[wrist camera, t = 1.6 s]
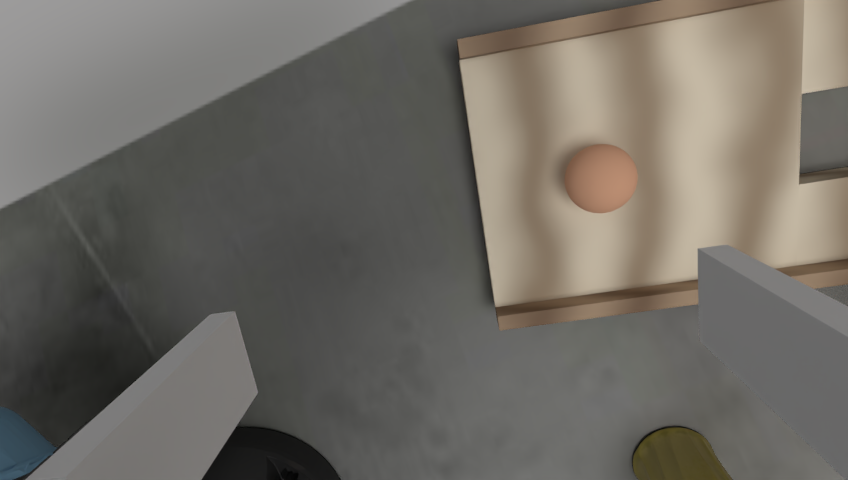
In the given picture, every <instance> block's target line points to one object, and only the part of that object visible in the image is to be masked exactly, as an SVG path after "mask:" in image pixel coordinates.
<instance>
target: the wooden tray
mask: <svg viewBox="0 0 848 480" xmlns="http://www.w3.org/2000/svg"><path fill="white" fill-rule="evenodd" d="M457 47H458V54H459V67H460V74H461V81H462V88H463V95H464V102H465V108H466V115H467V122H468V129H469V136H470V143H471V150H472V156H473V163H474V170H475V177H476V184H477V191H478V198H479V204H480V211H481V218H482V225H483V232H484V239H485V246H486V252H487V259H488V266H489V273H490V280H491V287H492V294H493V298H494V303H495V309H496V316H497V321H498V326H499V330H507V329H515V328H523V327H530V326H538V325H545V324H553V323H560V322H568V321H575V320H583V319H590V318H598V317H605V316H613V315H620V314H628V313H635V312H643V311H650V310H658V309H665V308H673V307H680V306H688V305H695V304H698V248H705V247H712V246H720V245H729V246H731V247H733V248H735V249H737V250H739V251H741V252H743V253H745V254H747V255H748V256H750V257H752V258H754V259H756V260H758V261H760V262H762V263H764V264H766V265H768V266H770V267H772V268H774V269H776V270H778V271H780V272H782V273H784V274H786V275H788V276H790V277H791V278H793V279H795V280H797V281H799V282H801V283H803V284H805V285H807V286H809V287H811V288H813V289H815V288H823V287H830V286H838V285H845V284H848V167H843V168H837V169H830V170H824V171H818V172H811V173H805V174H799V165H800V131H801V96H802V94H804V93H810V92H815V91H821V90H827V89H833V88H839V87H845V86H848V0H660V1H655V2H650V3H645V4H639V5H634V6H629V7H624V8H618V9H613V10H608V11H603V12H598V13H592V14H587V15H582V16H577V17H571V18H566V19H561V20H556V21H551V22H545V23H540V24H535V25H530V26H524V27H519V28H514V29H509V30H504V31H498V32H493V33H488V34H483V35H477V36H472V37H467V38H462V39H457ZM596 144H609V145H613V146H616V147H618V148H621V149H622V150H624V151H625V152H626V153H627V154H628V155H629V156H630V157H631V158H632V160H633V161H634V163H635V165H636V168H637V174H638V181H637V186H636V189H635V192H634V194H633V195H632V197H631V198H630V199H629V201H628V202H627V203H626V204H624V205H623V206H622V207H620V208H618V209H616V210H614V211H611V212H607V213H592V212H588V211H585V210H583V209H581V208H580V207H578V206H577V205H576V204H575V203H574V202H573V201H572V200H571V199H570V197H569V195H568V193H567V191H566V188H565V173H566V169H567V166H568V164H569V163H570V161H571V160H572V158H573V157H574V156H575V155H576V154H577V153H578V152H580V151H581V150H583V149H585V148H587V147H589V146H592V145H596Z"/></svg>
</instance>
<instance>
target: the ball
mask: <svg viewBox="0 0 848 480" xmlns="http://www.w3.org/2000/svg"><path fill="white" fill-rule="evenodd" d="M637 181H638V174H637V168H636V165H635V163H634V161H633V160H632V158H631V157H630V156H629V155H628V154H627V153H626V152H625V151H624V150H622V149H621V148H618V147H616V146H613V145H609V144H596V145H592V146H589V147H587V148H585V149H583V150H581V151H580V152H578V153H577V154H576V155H575V156H574V157H573V158H572V160H571V161H570V163H569V164H568V166H567V169H566V173H565V188H566V191H567V193H568V195H569V197H570V199H571V200H572V201H573V202H574V203H575V204H576V205H577V206H578V207H580V208H581V209H583V210H585V211H588V212H592V213H607V212H611V211H614V210H616V209H618V208H620V207H622V206H623V205H624V204H626V203H627V202H628V201H629V199H630V198H631V197H632V195H633V194H634V192H635V189H636V186H637Z"/></svg>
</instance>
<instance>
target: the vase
mask: <svg viewBox="0 0 848 480" xmlns="http://www.w3.org/2000/svg"><path fill="white" fill-rule="evenodd" d="M633 469H634V473H635V475H636V477H637V478H638V480H732V478H731V477H730V475H729V474H728V473H727V471H726V470H725V469H724V467H723V466H722V464H721V463H720V461H719V460H718V458H717V457H716V455H715V453H714V451H713V449H712V447H711V445H710V444H709V442H708V441H707V440H706V439H705V438H704V437H703V436H702V435H700V434H699V433H697V432H695V431H692V430H690V429H687V428H680V427H672V428H665V429H662V430H659V431H656V432H654V433H652V434H651V435H649V436H647V437H646V438H645V439H644V440H643V441H642V442H641V444H640V445H639V447H638V448H637V450H636V452H635V454H634V457H633Z"/></svg>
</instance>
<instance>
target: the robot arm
mask: <svg viewBox="0 0 848 480" xmlns="http://www.w3.org/2000/svg"><path fill="white" fill-rule="evenodd" d="M698 310H699V341H700V342H701V343H702V344H703V345H704V346H706V347H707V348H708V349H709V350H710V351H711V352H712V353H713V354H714V355H715V356H716V357H717V358H718V359H719V360H720V361H721V362H722V363H723V364H724V365H726V366H727V367H728V368H729V369H730V370H731V371H732V372H733V373H734V374H735V375H736V376H737V377H738V378H739V379H740V380H741V381H742V382H743V383H744V384H745V385H747V386H748V387H749V388H750V389H751V390H752V391H753V392H754V393H755V394H756V395H757V396H758V397H759V398H760V399H761V400H762V401H763V402H764V403H765V404H767V405H768V406H769V407H770V408H771V409H772V410H773V411H774V412H775V413H776V414H777V415H778V416H779V417H780V418H781V419H782V420H783V421H784V422H785V423H786V424H788V425H789V426H790V427H791V428H792V429H793V430H794V431H795V432H796V433H797V434H798V435H799V436H800V437H801V438H802V439H803V440H804V441H805V442H806V443H808V444H809V445H810V446H811V447H812V448H813V449H814V450H815V451H816V452H817V453H818V454H819V455H820V456H821V457H822V458H823V459H824V460H825V461H826V462H827V463H829V464H830V465H831V466H832V467H833V468H834V469H835V470H836V471H837V472H838V473H839V474H840V475H841V476H842V477H843V478H844V479H845V480H848V306H846V305H844V304H842V303H840V302H838V301H836V300H834V299H832V298H831V297H829V296H827V295H825V294H823V293H821V292H819V291H817V290H815V289H813V288H811V287H809V286H807V285H805V284H803V283H801V282H799V281H797V280H795V279H793V278H791V277H790V276H788V275H786V274H784V273H782V272H780V271H778V270H776V269H774V268H772V267H770V266H768V265H766V264H764V263H762V262H760V261H758V260H756V259H754V258H752V257H750V256H748V255H747V254H745V253H743V252H741V251H739V250H737V249H735V248H733V247H731V246H729V245H720V246H712V247H705V248H698ZM257 394H258V390H257V387H256V383H255V380H254V376H253V373H252V369H251V365H250V362H249V358H248V355H247V351H246V348H245V344H244V341H243V337H242V334H241V330H240V327H239V323H238V320H237V316H236V313H235V311H231V312H223V313H216V314H210V315H209V316H208V317H207V318H206V319H204V320H203V321H202V322H201V323H200V324H199V325H198V326H197V327H195V328H194V329H193V330H192V331H191V332H190V333H189V334H188V335H186V336H185V337H184V338H183V339H182V340H181V341H180V342H179V343H178V344H176V345H175V346H174V347H173V348H172V349H171V350H170V351H169V352H167V353H166V354H165V355H164V356H163V357H162V358H161V359H160V360H159V361H157V362H156V363H155V364H154V365H153V366H152V367H151V368H150V369H148V370H147V371H146V372H145V373H144V374H143V375H142V376H141V377H139V378H138V379H137V380H136V381H135V382H134V383H133V384H132V385H131V386H129V387H128V388H127V389H126V390H125V391H124V392H123V393H122V394H120V395H119V396H118V397H117V398H116V399H115V400H114V401H113V402H111V403H110V404H109V405H108V406H107V407H106V408H105V409H104V410H103V411H101V412H100V413H99V414H98V415H97V416H96V417H94V418H93V419H91V420H90V421H88V422H86V423H85V424H84V425H83V426H82V427H81V428H79V429H78V430H77V431H76V432H75V433H74V434H73V435H72V436H70V437H69V438H68V442H64V443H63V444H61V445H60V446H59V447H54V446H53V445H52V444H51V443H50V442H49V441H48V440H46V439H45V438H44V437H43V436H42V435H41V434H40V433H39V432H37V431H36V430H35V429H34V428H33V427H32V426H31V425H30V424H29V423H27V422H26V421H25V420H24V419H23V418H22V417H21V416H20V415H18V414H17V413H15V412H14V411H12V410H10V409H8V408H5V407H1V406H0V480H340V479H339V477H338V476H337V474H336V472H335V471H334V470H333V468H332V467H331V466H330V465H329V463H328V462H327V461H326V460H325V459H324V458H323V457H322V456H321V455H320V454H318V453H317V452H316V451H315V450H313V449H312V448H311V447H309V446H308V445H306V444H304V443H303V442H301V441H299V440H297V439H295V438H293V437H290V436H288V435H285V434H282V433H279V432H276V431H272V430H266V429H259V428H236V426H237V424H238V423H239V421H240V420H241V418H242V417H243V415H244V414H245V412H246V411H247V409H248V408H249V406H250V405H251V403H252V401H253V400H254V398H255V397H256V395H257ZM235 428H236V429H235Z"/></svg>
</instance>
